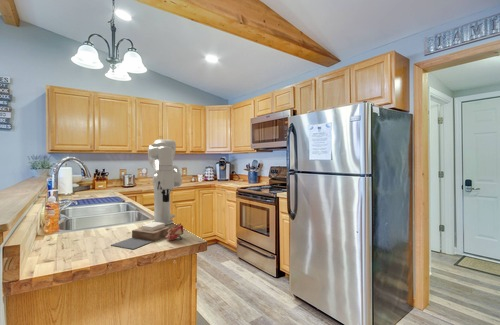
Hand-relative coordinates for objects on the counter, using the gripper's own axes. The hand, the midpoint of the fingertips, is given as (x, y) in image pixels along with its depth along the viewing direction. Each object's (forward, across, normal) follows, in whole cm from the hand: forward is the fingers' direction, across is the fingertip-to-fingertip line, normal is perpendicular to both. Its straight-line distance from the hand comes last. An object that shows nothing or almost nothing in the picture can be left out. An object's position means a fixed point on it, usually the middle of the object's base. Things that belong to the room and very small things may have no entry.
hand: (165, 201), depth 143 cm
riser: (+16, +10, 0) cm, 19 cm away
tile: (+12, +9, 0) cm, 16 cm away
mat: (+17, +23, 0) cm, 28 cm away
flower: (+17, +11, +14) cm, 25 cm away
